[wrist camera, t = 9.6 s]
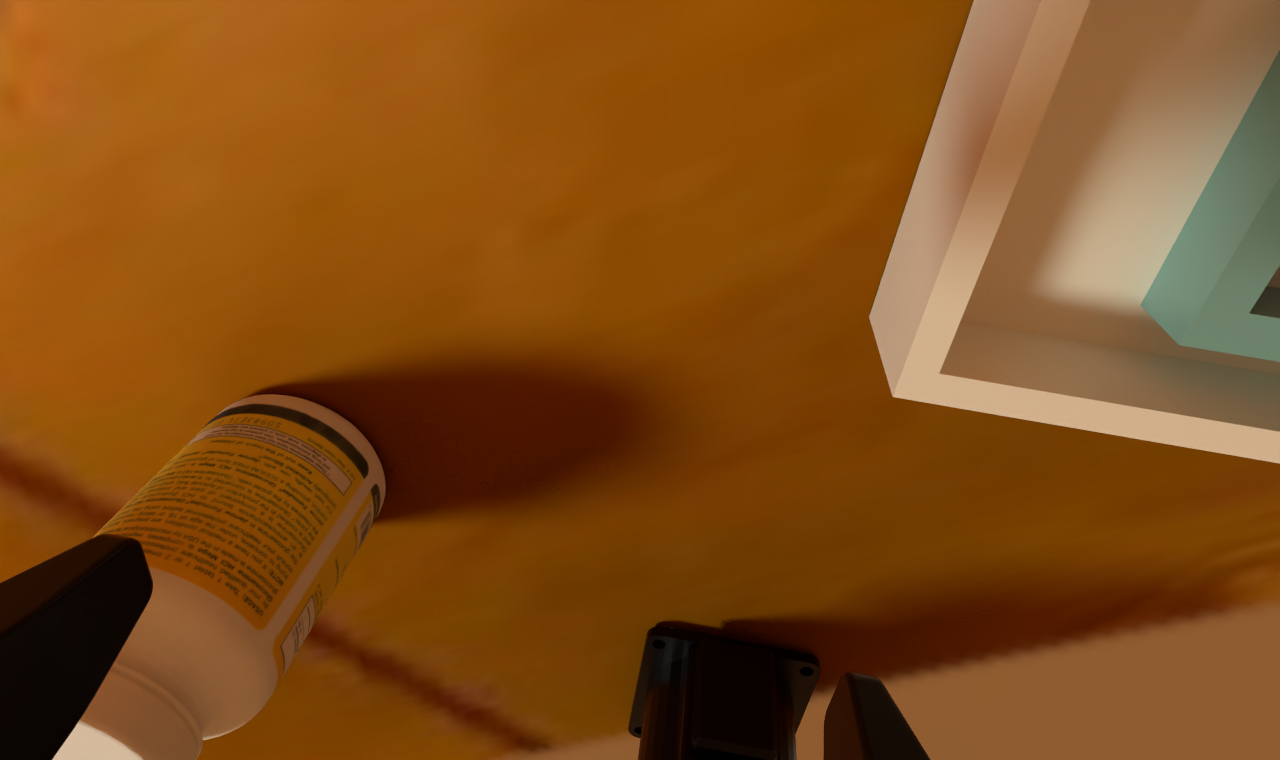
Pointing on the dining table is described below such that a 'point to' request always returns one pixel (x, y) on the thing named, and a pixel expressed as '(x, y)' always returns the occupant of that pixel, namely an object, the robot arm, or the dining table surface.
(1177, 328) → the walled box
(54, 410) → the dining table surface
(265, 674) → the pill bottle
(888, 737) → the robot arm
